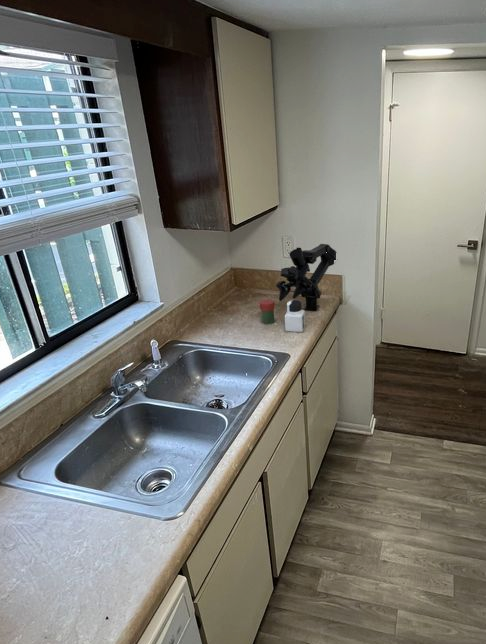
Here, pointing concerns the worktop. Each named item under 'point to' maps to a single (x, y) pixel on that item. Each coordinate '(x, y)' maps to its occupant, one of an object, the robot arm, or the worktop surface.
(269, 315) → the jam jar
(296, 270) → the robot arm
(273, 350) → the worktop surface
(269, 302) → the jar lid
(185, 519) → the worktop surface
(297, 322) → the container
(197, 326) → the worktop surface
